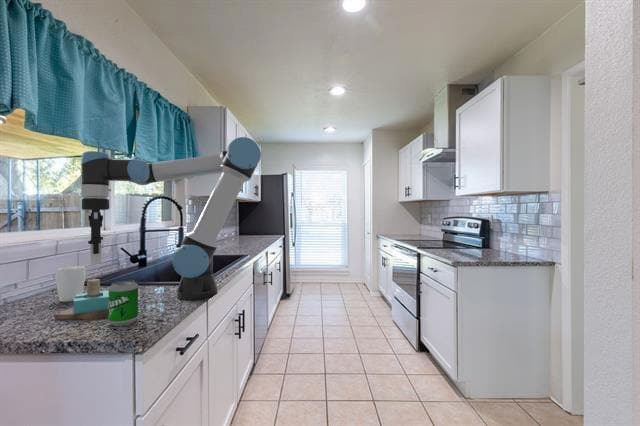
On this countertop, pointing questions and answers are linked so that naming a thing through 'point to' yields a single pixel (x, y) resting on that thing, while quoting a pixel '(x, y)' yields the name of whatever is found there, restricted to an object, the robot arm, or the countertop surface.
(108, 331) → the countertop surface
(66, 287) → the cup
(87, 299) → the teal u-shaped block
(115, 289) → the soda can
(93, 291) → the post fixture
